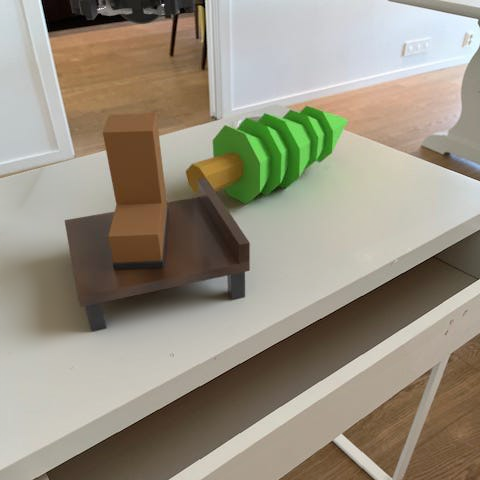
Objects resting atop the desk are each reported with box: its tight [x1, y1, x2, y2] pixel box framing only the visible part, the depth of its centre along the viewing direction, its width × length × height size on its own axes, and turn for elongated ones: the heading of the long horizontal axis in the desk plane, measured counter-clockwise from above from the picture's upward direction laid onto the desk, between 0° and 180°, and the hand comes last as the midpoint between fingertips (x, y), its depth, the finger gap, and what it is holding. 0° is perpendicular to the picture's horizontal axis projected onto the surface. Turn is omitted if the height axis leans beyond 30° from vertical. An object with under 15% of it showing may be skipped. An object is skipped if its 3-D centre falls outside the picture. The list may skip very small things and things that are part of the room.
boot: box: [102, 112, 169, 270], centre depth 54 cm, size 5×12×12 cm, turn 3°
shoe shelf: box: [64, 178, 251, 332], centre depth 59 cm, size 18×16×7 cm
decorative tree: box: [185, 105, 349, 205], centre depth 76 cm, size 11×12×30 cm
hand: (127, 8), depth 55 cm, fingers open, 8 cm apart
